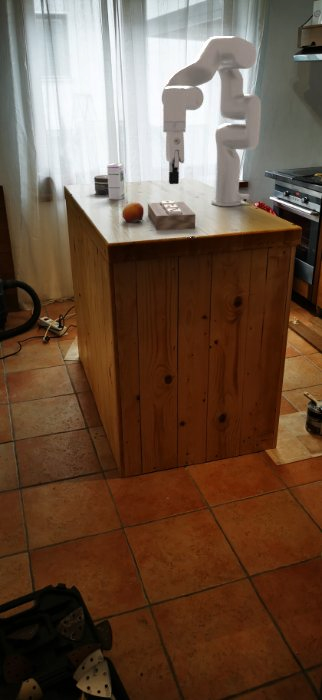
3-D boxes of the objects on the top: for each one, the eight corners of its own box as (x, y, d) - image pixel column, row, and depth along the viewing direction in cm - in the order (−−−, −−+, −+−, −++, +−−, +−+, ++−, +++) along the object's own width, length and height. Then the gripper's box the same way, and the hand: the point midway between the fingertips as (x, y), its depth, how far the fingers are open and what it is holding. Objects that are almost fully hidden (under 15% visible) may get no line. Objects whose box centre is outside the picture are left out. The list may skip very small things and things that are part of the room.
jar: (101, 190, 265) (101, 174, 262) (120, 192, 261) (119, 175, 258) (90, 194, 257) (89, 177, 254) (109, 196, 253) (109, 178, 250)
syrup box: (121, 199, 246) (120, 165, 240) (108, 199, 247) (106, 164, 241) (124, 197, 251) (123, 163, 245) (112, 196, 252) (110, 163, 246)
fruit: (140, 221, 204) (130, 201, 203) (125, 230, 209) (115, 210, 208) (152, 217, 210) (142, 197, 209) (137, 225, 215) (128, 206, 214)
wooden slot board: (183, 214, 219) (183, 201, 217) (195, 228, 200) (195, 214, 198) (148, 216, 217) (147, 203, 215) (156, 230, 198) (156, 215, 196)
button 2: (175, 209, 209) (175, 203, 208) (177, 212, 205) (177, 206, 204) (163, 210, 209) (163, 204, 208) (165, 212, 205) (165, 206, 204)
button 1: (172, 205, 215) (172, 199, 214) (174, 208, 211) (174, 202, 210) (160, 206, 215) (160, 200, 214) (162, 208, 211) (162, 202, 210)
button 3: (179, 213, 203) (179, 207, 202) (181, 216, 199) (181, 210, 198) (166, 214, 202) (166, 208, 201) (168, 217, 198) (168, 210, 197)
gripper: (189, 129, 181) (188, 187, 189) (181, 125, 195) (180, 180, 203) (167, 129, 180) (166, 187, 188) (159, 125, 194) (159, 180, 202)
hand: (173, 183), depth 196 cm, fingers closed
